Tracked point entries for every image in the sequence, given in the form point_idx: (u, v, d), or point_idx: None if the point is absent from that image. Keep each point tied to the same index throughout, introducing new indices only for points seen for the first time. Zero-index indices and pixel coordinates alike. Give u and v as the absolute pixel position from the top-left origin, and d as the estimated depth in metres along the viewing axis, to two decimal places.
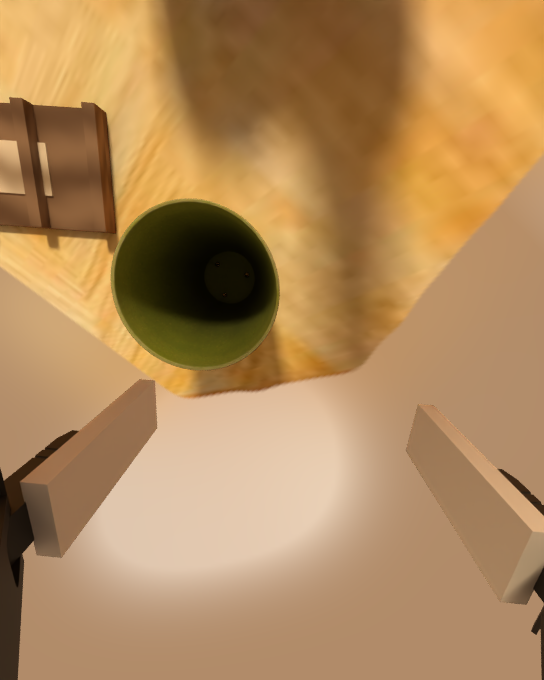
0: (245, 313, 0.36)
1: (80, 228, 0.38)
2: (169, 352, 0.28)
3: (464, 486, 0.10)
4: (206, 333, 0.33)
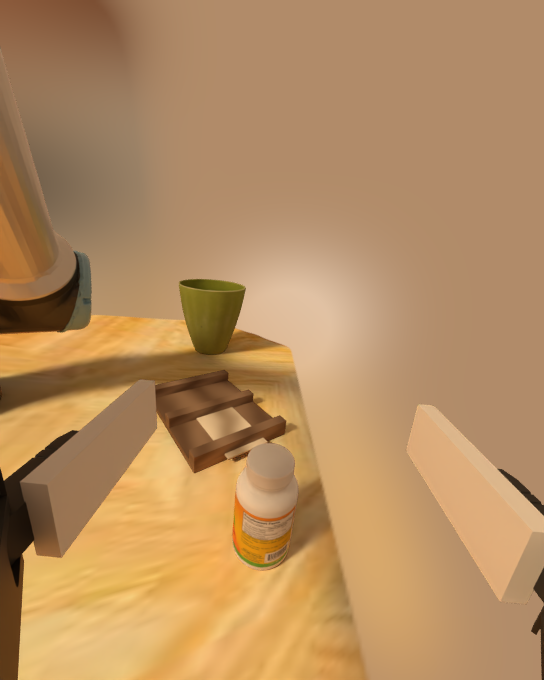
0: None
1: (234, 387, 0.51)
2: None
3: (464, 486, 0.10)
4: None
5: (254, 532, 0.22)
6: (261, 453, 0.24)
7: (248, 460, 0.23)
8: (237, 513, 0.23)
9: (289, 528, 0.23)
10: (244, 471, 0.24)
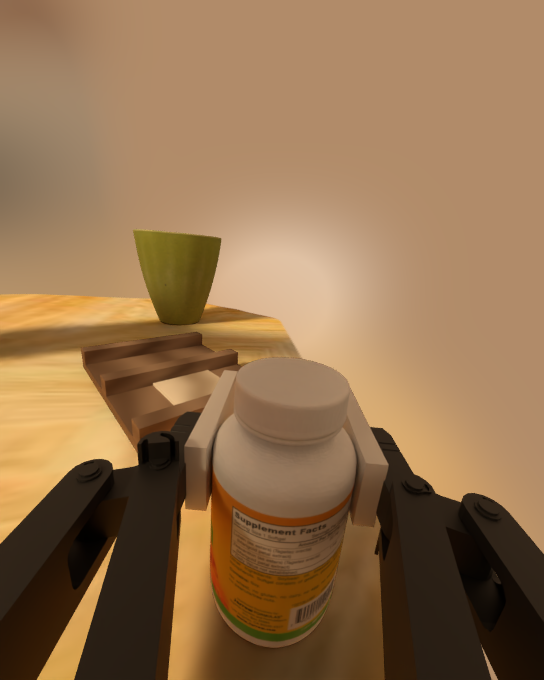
0: None
1: (211, 350, 0.37)
2: None
3: None
4: None
5: (263, 558, 0.09)
6: (268, 370, 0.10)
7: (239, 379, 0.09)
8: (217, 515, 0.10)
9: (341, 539, 0.10)
10: (230, 419, 0.11)
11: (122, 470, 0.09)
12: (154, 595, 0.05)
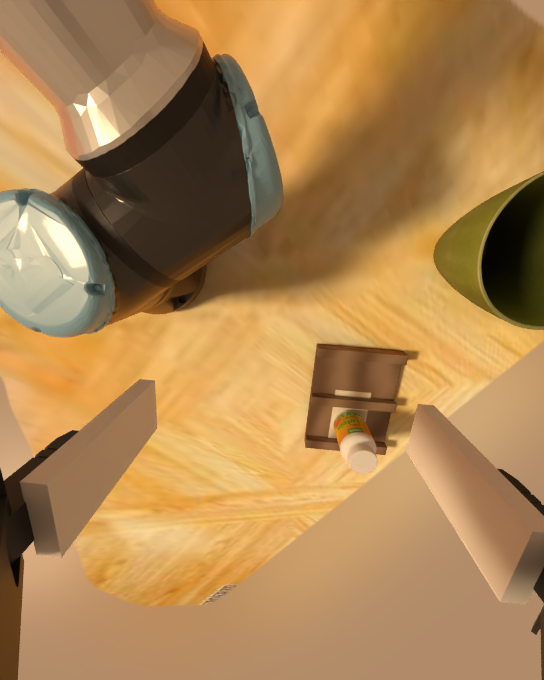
0: (519, 228, 0.35)
1: (397, 377, 0.46)
2: None
3: (464, 486, 0.10)
4: None
5: None
6: (362, 456, 0.39)
7: (352, 456, 0.39)
8: (338, 437, 0.44)
9: None
10: (352, 440, 0.41)
11: None
12: None
